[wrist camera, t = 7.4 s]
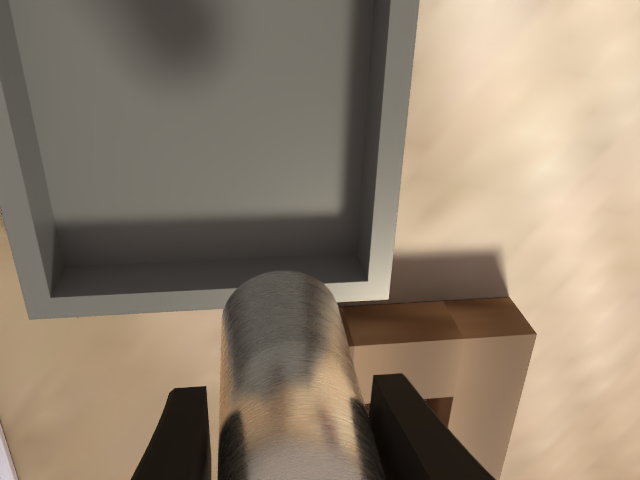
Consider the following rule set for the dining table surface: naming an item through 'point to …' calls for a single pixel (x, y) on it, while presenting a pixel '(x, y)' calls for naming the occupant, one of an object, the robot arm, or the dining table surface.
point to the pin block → (450, 363)
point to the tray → (200, 148)
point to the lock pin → (290, 386)
